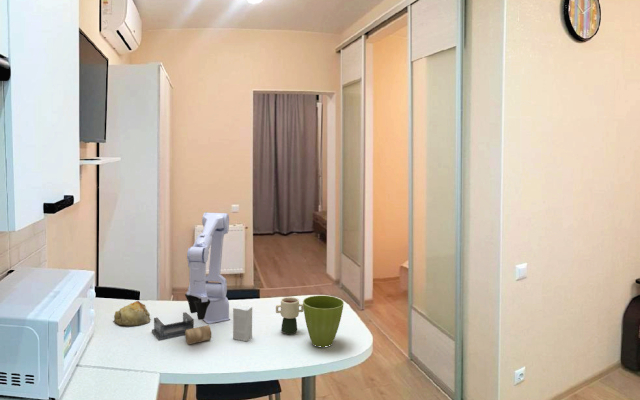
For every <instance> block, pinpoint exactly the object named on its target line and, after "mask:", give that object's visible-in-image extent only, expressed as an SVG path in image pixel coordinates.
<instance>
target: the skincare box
mask: <svg viewBox="0 0 640 400" xmlns="http://www.w3.org/2000/svg"><path fill="white" fill-rule="evenodd" d="M232 309H233V310H232V318H233V320H232V321H233V323H232V326H233V327H232V338H233V339H234V340H237V341H242V340H243V341H242V342H248V341H249V340H251V339H252V338H253V306H247V305H241V304H238V305H236V306H235V307H233V308H232ZM250 338H251V339H250Z"/></svg>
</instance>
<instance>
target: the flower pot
mask: <svg viewBox="0 0 640 400" xmlns="http://www.w3.org/2000/svg"><path fill="white" fill-rule="evenodd" d="M302 304H303V307H304V311H303V314H304V319H305V324H306V329H307V332H308V335H309V339H310V341H311V344H312V345H313V344H314V345H316V346H321V347H325V346H329V345H331V344H332V345H333V343H334V340H335V338H336V336H337V333H338V331H339V326H340V324H341V318H342V315H343V310H344V305H345V303H344V301H343V299H341V298H338V297H335V296H333V295H312V296H309V297H306V298H304V299H303V301H302ZM314 345H313V346H314ZM332 345H331V346H332ZM316 346H315V347H316ZM329 347H330V346H329ZM325 348H326V347H325Z"/></svg>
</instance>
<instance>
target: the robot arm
mask: <svg viewBox="0 0 640 400" xmlns="http://www.w3.org/2000/svg"><path fill="white" fill-rule="evenodd" d="M201 219H202V220H201V223H202V227H203V228H202V232H201V233H199V234H198V235H197V237H196V239H195V241H194V243H193V244H192V246H190V247H188V249H187V254H186V255H187V256H186V260H187V267H188V268H189V276H188V277H189V283H188V284H189V286H187V291H186V292H185V294H184V297H185V298H186V301H187V303H188V307H189V308H188V309H189V312H190V313H191V314H197V315H196V316H197V319H198V320H199V321H201V320H203V321H204V322H205V323H206V324H208V325H209V324H214V323H219V322H224V321H230V320H231V319H230V301H229V299H228V297H227V292H228V285H227V284H228V283H227V282H228V281H227V279H226V278H225V277H224V276H223V275H222V274H221V271H222V256H223V247H224V246H223V245H224V237H225V235H226V234H228V232H229V229H230V216H229V214H228V213H227V212H225V213H223V212H207V211H206V212H204V213H203V214H202V218H201ZM208 260H209V264H208V265H209V266H208V274H206V273H207V262H208Z"/></svg>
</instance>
